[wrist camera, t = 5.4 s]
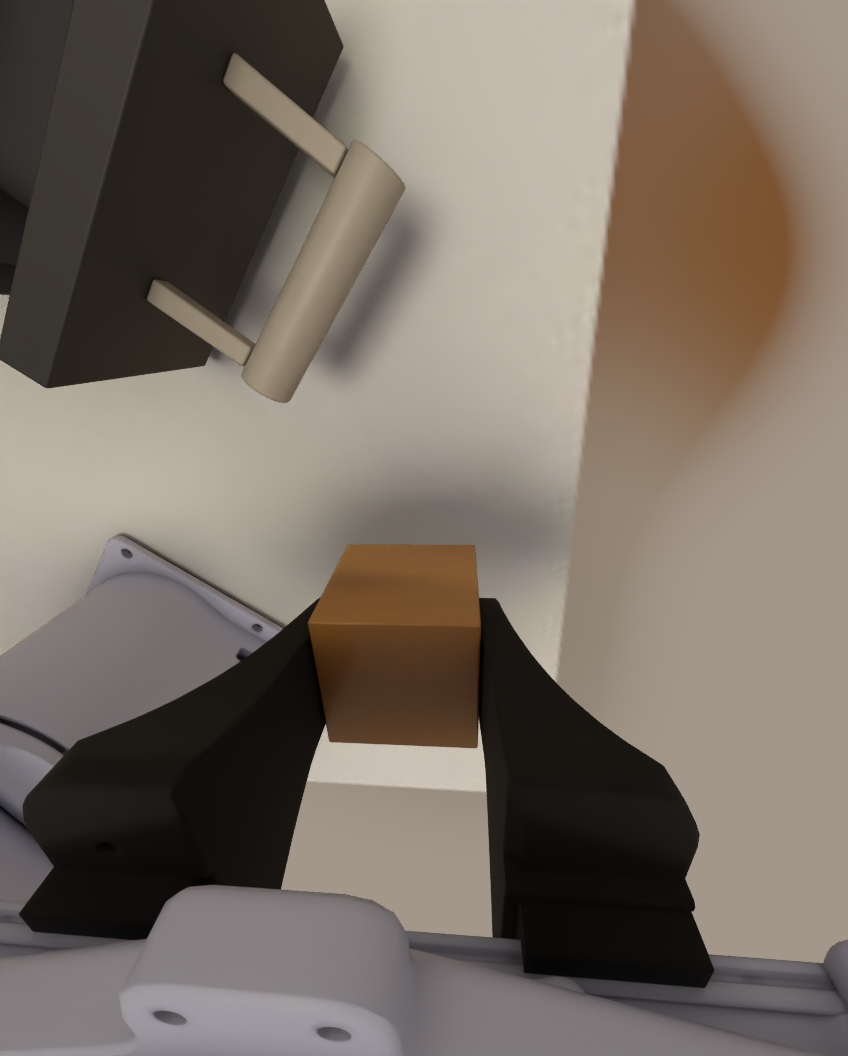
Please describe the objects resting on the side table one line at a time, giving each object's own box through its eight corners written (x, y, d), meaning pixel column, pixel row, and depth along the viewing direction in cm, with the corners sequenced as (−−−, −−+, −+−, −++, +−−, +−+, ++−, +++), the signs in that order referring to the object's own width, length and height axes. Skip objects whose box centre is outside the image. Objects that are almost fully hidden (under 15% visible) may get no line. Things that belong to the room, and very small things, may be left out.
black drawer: (463, 153, 13) (466, -9, 7) (302, 432, 17) (211, 492, 11) (-124, -374, 10) (-1142, -1599, 4) (-150, 124, 14) (-646, -42, 8)
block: (473, 646, 15) (477, 749, 11) (359, 644, 15) (328, 743, 12) (474, 544, 13) (480, 625, 10) (347, 543, 13) (306, 622, 10)
